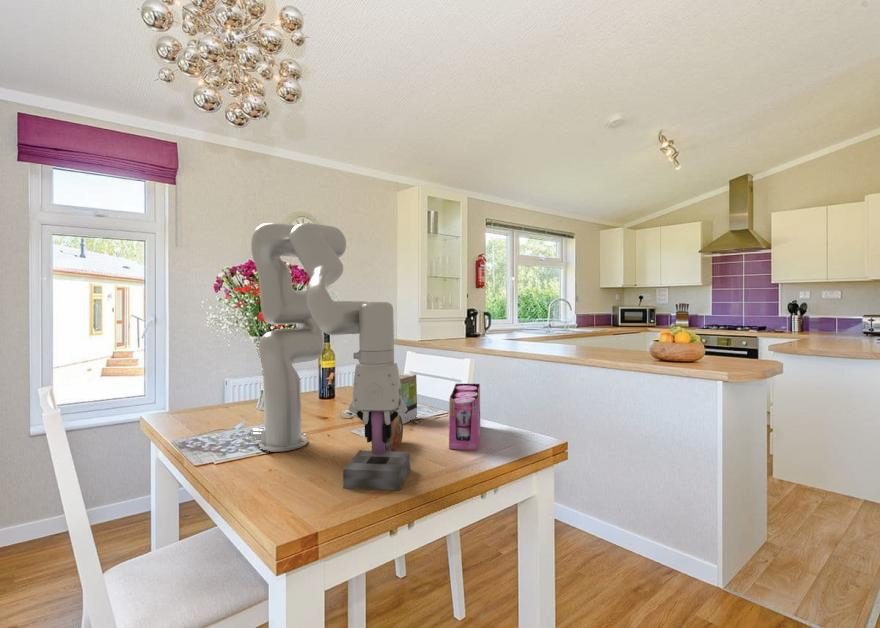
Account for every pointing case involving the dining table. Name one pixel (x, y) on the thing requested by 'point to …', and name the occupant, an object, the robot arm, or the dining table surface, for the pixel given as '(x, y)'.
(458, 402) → the gum box
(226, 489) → the dining table surface
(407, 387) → the tea box
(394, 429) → the tin
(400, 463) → the hole block
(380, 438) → the peg
